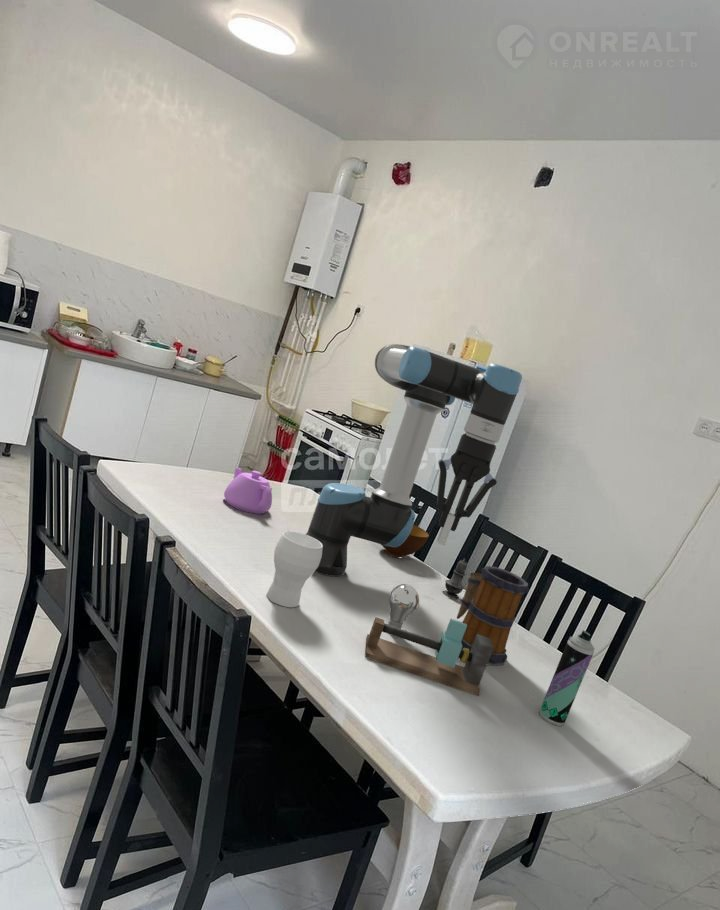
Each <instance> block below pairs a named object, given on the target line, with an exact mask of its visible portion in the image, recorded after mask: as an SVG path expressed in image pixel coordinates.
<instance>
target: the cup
mask: <svg viewBox="0 0 720 910" xmlns="http://www.w3.org/2000/svg"><path fill="white" fill-rule="evenodd" d="M322 549H323V545H322V543H321V542H320V541H318V540H317V539H315V538H313V537H311V536H308V535H306V533H302V532H297V531H294V530H286V531H283V533H282V534H281V536H280V537H279V539H278V541H277V542H276V545H275V547H274V551H273V554H274V555H273V565H274V568H275V571H274V576H273V580H272V582H271V585H270V586H269V588H268V590H267V592H266V598H267V599H268V600H269V601H271V602H272V603H274V604H275V605H279V606H281V607H286V608H296V607H298V606H299V605H300V599H301V594H302V590H303V587H304V585H305V583H306V581H307V580H308V579H309V578H310V577H312V575H314V574H315V573H316V572H315V570H316V569H317V567H318V566H319V563H320V560H321V557H322Z"/></svg>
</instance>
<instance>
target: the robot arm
mask: <svg viewBox="0 0 720 910" xmlns="http://www.w3.org/2000/svg"><path fill="white" fill-rule="evenodd" d="M374 367H375V371H376V373H377V374H378V376H379V377H380V378H381V379H382V380H383V381H385V382H386V383H387V384H389V385H390V386H392V387H394V388H397V389H400V390H402V391H405V392H404V395H403V399H404V401H405V403H406V407H405V410H404V413H403V416H402V419H401V421H400V425H399V428H398V431H397V435H396V437H395V440H394V443H393V446H392V449H391V452H390V455H389V459H388V461H387V464H386V467H385V470H384V473H383V475H382V476H383V477H382V480H381V481H380V485H379V487H377V488H375V489H374V490H372V492H371V494H370V495H371V496H367V495H366V491H365V490H364V489H362V488H360V487H357V486H354V485H352V484H346V483H340V482H332V483H328V484H325V485H324V486H323V488H322V490H321V491H320V494H319V496H318V498H317V503H316V506H315V509H314V511H313V515H312V517H311V520H310V523H309V527H308V530H307V532H306V533H305V535H308V536H311V537H313V538H315V539H317V540H318V541H320V542H321V543H322V545H323V549H322V557H321V560H320V563H319V566H318V567H317V569H316V570H315V572H314V573H317V574H321V575H324V576H331V577H338V576H339V577H340V576H343V575H345V573H346V570H347V566H348V545H349V542H350V539H351V537H353V538H358V539H361V540H365V541H368V542H372V543H374V544H375V543H376V544H379V545H380V546H382V547H383V546H390V547H398V546H400V545H401V544H402V543H404V541H405V540H406V539H407V537H408V536H409V534H410V532H411V530H412V527H413V524H414V523H415V518H416V514H415V511H414V510H413V509H412V507H413V502H412V501H411V499H410V495H411V493H412V489H413V486H414V483H415V480H416V477H417V475H418V472H419V471H418V470H419V468H420V465H421V462H422V459H423V456H424V454H425V450H426V447H427V445H428V442H429V439H430V435H431V434H432V433H431V432H432V429H433V426H434V423H435V421H436V418H437V415H439V414H440V413H442V412H443V411H445V408H446V406H450V405H452V404H454V402H455V400H456V399H458V400H459V401H460V400H461V401H463V402H467V403H469V404H472V407H471V409H470V413H469V415H468V418H467V420H466V423H465V426H464V429H463V431H464V432H465V433H463V434H461V436H460V439H459V441H458V444H457V447H456V450H455V452H454V453H453V454H451V457H450V458H448V459H439V460H438V467H439V478H438V486H437V493H436V494H437V496H436V505H437V507H438V508H439V509H440V510H441V511H442V512H441V514H440V516H439V520H438V522H437V523H438V526H439V527H440V531H439V533H438V536H437V539H436V541H437V544H440V545H442V546H445V545H446V543H447V540H448V537H449V535H450V532H455V531H456V530H457V528H458V525H459V522H460V519H461V518H470V517H471V516H472V515H473V513H474V512H475V510H476V509H477V507H478V506H479V505H480V503H481V502H482V501H483V499H484V498H485V496H486V494H487V493H488V492H489V490H490V489H491V488H493V487H494V486H495V485H496V484H497V483H498V481H497V479H496V478H495V477H493V476H492V474H491V473H490V471H491V462H492V459H493V457H494V454H495V452H496V450H497V446H496V444H498V443H499V441H500V439H501V436H502V433H503V430H504V428H505V424H506V422H507V420H508V417H509V415H510V412H511V410H512V407H513V404H514V402H515V399H516V397H517V394H518V393H519V390H520V387H521V386H520V385H521V383H522V379H523V375H522V373H521V372H519V371H517V370H515V369H512V368H509V367H506V366H503V365H500V364H497V363H493V362H491V363H490V364H488V365H487V367H486V369H485V370H483V369H479V368H477V367H474V366H471V365H468V364H465V363H461V362H460V361H456V360H454V359H450V358H448V357H445V356H442V355H439V354H437V353H434V352H431V351H429V350H427V349H424V348H420V347H417V346H410V345H405V344H397V343H392V344H391V343H390V344H386V345H385V346H383V347H382V348H381V349H379V350H378V352H377V353H376V356H375V358H374ZM495 443H496V444H495ZM450 465H451V467H452V471H453V474H454V477H453V482H452V484H451V486H450V490H449V491H448V495H447V498H446V500H445V491H446V484H447V483H446V482H447V473H448V472H447V471H448V470H450ZM483 478H484V479H483ZM481 479H483V483H482V484H481V485H480V487H479V488H478V490H477V492H476V493H475V494H474V495H473V497H472V499H471V500H470V502H469V503H468V505H467V502H468V499H469V497H470V495H471V492H472V490H473V488H474V485H475V483H477V482H479V481H480V480H481ZM463 480H464V481H465V483H464V487H463V489H462V491H461V494H460V497H459V500H458V502H457V505H456V508H455V510H454V513H453V512H451V510H452V508H453V505H454V502H455V500H456V496H457V494H458V491H459V488H460V486H461V484H462V482H463ZM444 500H445V502H444ZM414 525H415V524H414Z"/></svg>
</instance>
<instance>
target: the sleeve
mask: <svg viewBox="0 0 720 910" xmlns="http://www.w3.org/2000/svg"><path fill="white" fill-rule="evenodd" d="M462 622H463V621H459V620H456V619H453V618H450V619H449V622H448V625H447V627H446V630H445V632H443V631H442V633H441V636H440V638H439V641H438V642H441V643H442V646H441V648H440V651H438V650H435V652H434V655H435V656H434V657H436V662H439V663H442V664H445V665H448V666H451V667H455V664H457V662H458V659H459V658H458V657H459V654H460V651H461V649H462V643H461V641H462V638H463V635H464V633H465V630H466V628H467V624H465V623H462Z"/></svg>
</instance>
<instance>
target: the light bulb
mask: <svg viewBox="0 0 720 910" xmlns="http://www.w3.org/2000/svg"><path fill="white" fill-rule="evenodd" d="M388 601H389V607H390V612H389V617H390V618H389V620H388V622H387V624H388V625H391V626H394V627H397V628H400V629H402V627H403V625H404V623H405V621H406V620H407V619H408V617H409V616H410V615H411V614H413V613H414V612H415V611H416V610H417V609H418V607H419V605H420V596H419V593H418V591H417V589H416V588H415V587H414V586H412V585H411V584H407V583H401V584H399V585H397V586H395V587H393V588H392V589H391V592H390V593H389V599H388Z"/></svg>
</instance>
